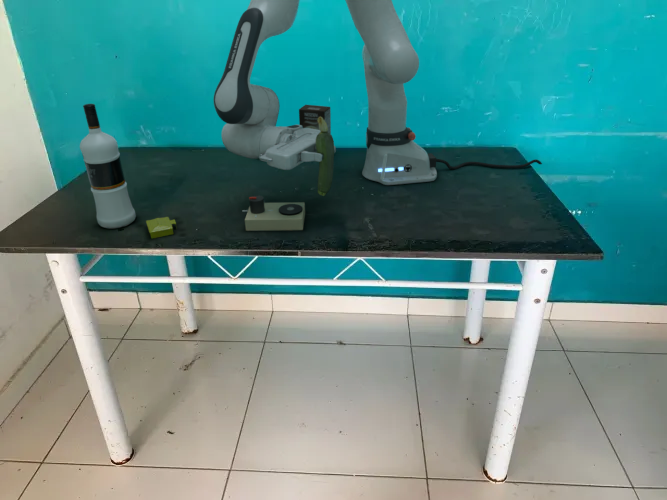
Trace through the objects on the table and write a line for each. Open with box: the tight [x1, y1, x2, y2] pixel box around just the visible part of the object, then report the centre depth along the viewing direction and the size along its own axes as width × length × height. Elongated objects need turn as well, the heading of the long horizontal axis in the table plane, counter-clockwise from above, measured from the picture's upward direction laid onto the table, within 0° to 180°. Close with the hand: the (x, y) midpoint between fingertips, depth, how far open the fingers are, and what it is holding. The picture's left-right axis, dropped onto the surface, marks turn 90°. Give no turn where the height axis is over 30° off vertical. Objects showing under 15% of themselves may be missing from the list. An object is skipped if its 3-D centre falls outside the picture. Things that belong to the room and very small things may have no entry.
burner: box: [279, 204, 303, 216], centre depth 131 cm, size 6×6×1 cm
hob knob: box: [248, 195, 265, 214], centre depth 130 cm, size 4×4×4 cm
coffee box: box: [298, 104, 332, 135], centre depth 172 cm, size 9×6×16 cm
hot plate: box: [241, 201, 306, 232], centre depth 132 cm, size 15×10×3 cm, turn 89°
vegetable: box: [316, 117, 335, 197], centre depth 124 cm, size 4×4×20 cm
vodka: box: [79, 103, 137, 230], centre depth 127 cm, size 9×9×30 cm
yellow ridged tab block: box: [141, 216, 178, 239], centre depth 129 cm, size 10×9×3 cm
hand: (328, 153), depth 123 cm, fingers closed on vegetable, 4 cm apart
